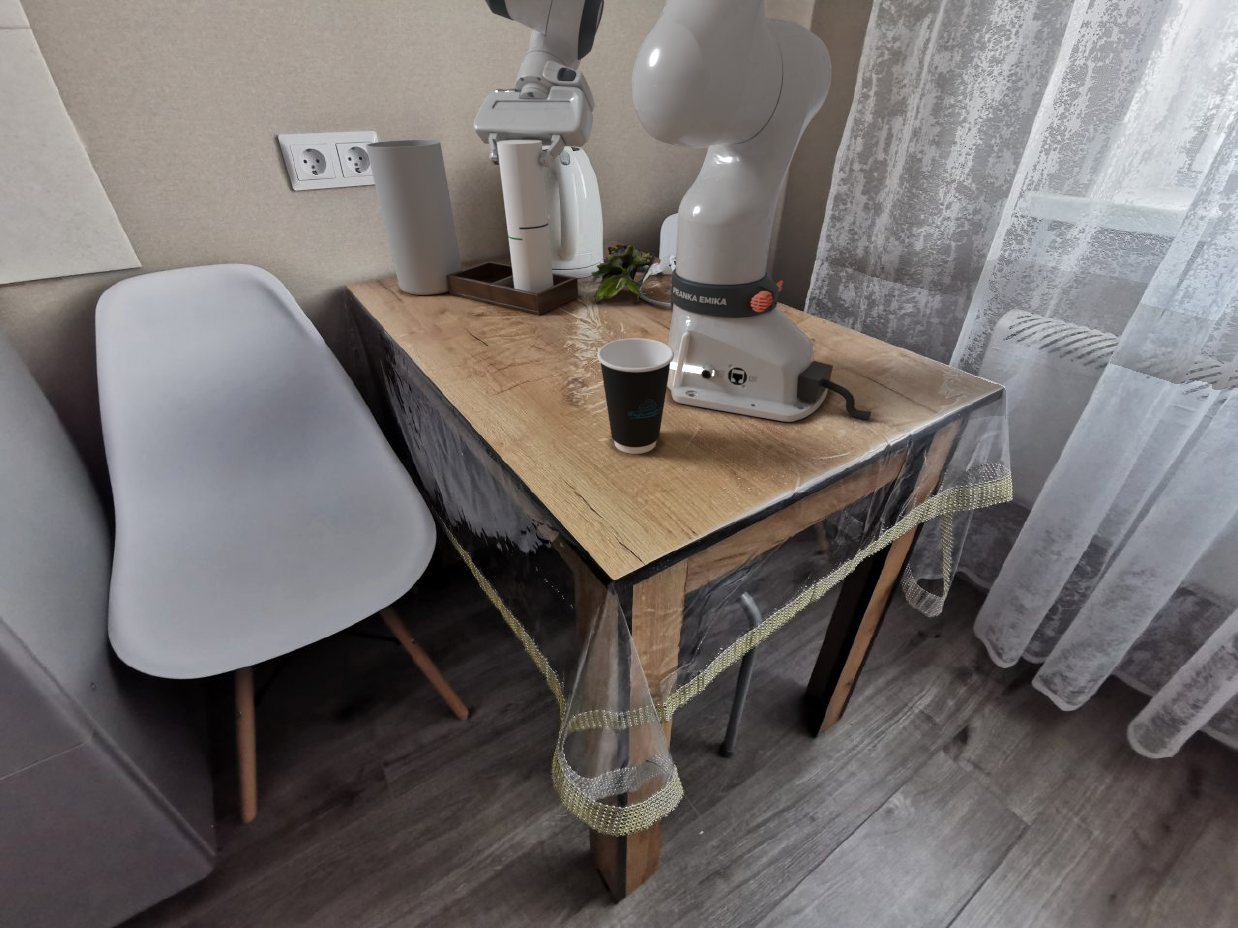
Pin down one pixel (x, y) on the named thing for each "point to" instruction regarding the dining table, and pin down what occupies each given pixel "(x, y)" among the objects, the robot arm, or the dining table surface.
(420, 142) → the cylinder vase
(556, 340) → the dining table surface
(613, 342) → the dixie cup
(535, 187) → the cylindrical container
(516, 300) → the tray
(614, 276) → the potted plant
